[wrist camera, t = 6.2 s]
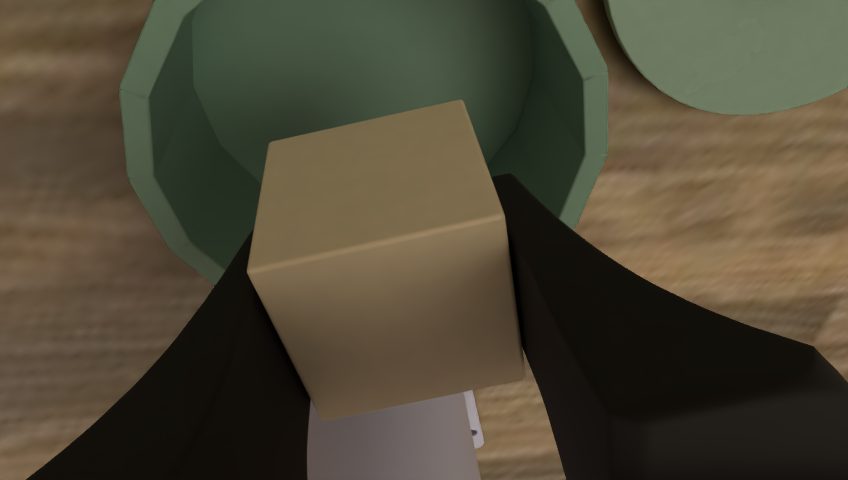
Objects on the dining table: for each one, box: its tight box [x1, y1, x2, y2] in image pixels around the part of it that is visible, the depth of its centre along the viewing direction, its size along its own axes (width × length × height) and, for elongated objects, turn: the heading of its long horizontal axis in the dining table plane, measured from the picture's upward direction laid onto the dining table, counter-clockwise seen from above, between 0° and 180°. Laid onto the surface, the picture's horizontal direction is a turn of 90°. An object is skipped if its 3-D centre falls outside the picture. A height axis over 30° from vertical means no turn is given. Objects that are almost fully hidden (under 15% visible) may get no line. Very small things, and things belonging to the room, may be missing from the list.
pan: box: [119, 0, 608, 285], centre depth 17 cm, size 11×11×6 cm
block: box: [247, 100, 526, 421], centre depth 12 cm, size 4×4×4 cm
